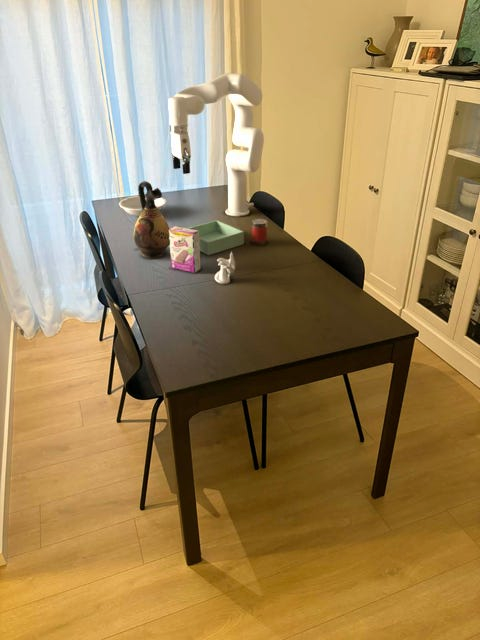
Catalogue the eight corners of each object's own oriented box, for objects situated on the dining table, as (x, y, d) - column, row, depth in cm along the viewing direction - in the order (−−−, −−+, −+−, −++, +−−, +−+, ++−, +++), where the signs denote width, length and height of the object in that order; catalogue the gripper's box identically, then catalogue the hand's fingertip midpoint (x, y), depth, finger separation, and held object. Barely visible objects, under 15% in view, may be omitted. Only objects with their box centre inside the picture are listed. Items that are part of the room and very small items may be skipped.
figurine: (211, 279, 188) (210, 249, 182) (229, 274, 191) (229, 246, 185) (224, 290, 180) (224, 260, 174) (242, 286, 183) (243, 256, 177)
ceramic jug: (179, 253, 209) (175, 183, 194) (150, 264, 199) (143, 191, 184) (154, 243, 219) (148, 175, 204) (125, 253, 209) (117, 182, 194)
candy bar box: (170, 268, 196) (167, 229, 187) (177, 264, 200) (174, 225, 191) (195, 273, 192) (193, 234, 183) (201, 269, 196) (199, 229, 187)
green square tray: (217, 231, 231) (216, 220, 228) (243, 244, 218) (244, 231, 215) (182, 241, 220) (181, 229, 218) (208, 255, 208) (208, 242, 205)
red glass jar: (259, 238, 224) (260, 217, 219) (269, 243, 219) (270, 221, 214) (248, 242, 220) (248, 220, 215) (258, 246, 216) (258, 225, 211)
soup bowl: (177, 212, 255) (176, 200, 252) (146, 226, 238) (144, 212, 234) (142, 204, 266) (141, 192, 263) (110, 217, 249) (108, 204, 246)
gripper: (196, 131, 199) (198, 174, 208) (178, 125, 212) (181, 165, 221) (179, 133, 196) (182, 176, 205) (162, 126, 209) (165, 167, 218)
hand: (181, 170), depth 213 cm, fingers open, 9 cm apart
